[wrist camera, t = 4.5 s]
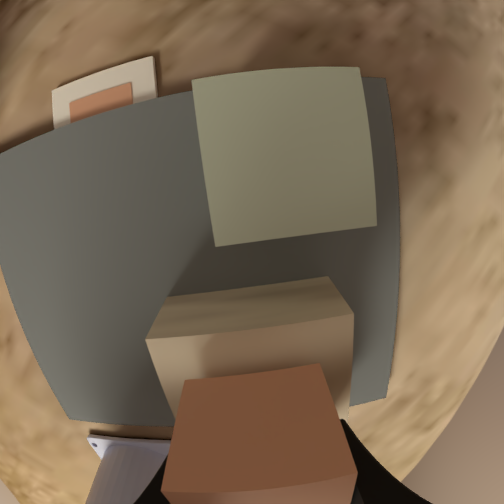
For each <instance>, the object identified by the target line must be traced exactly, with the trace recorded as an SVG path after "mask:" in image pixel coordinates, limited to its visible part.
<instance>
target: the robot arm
mask: <svg viewBox="0 0 504 504" xmlns="http://www.w3.org/2000/svg"><path fill="white" fill-rule="evenodd" d="M340 422H341V424H342V427H343V430H344V433H345V436H346V439H347V442H348V445H349V448H350V451H351V454H352V457H353V460H354V463H355V466H356V469H357V472H358V474H357V479H356V483H355V487H354V491H353V496H352V500H351V503H350V504H432V503H430V502H429V501H427V500H425V499H423V498H422V497H420V496H419V495H417V494H416V493H414V492H413V491H411V490H410V489H409V488H407V487H406V486H405V485H403V484H402V483H401V482H400V481H398V480H397V479H396V478H395V477H394V476H393V475H391V474H390V473H389V472H388V471H387V470H386V469H385V468H384V467H383V466H382V465H381V464H380V463H379V462H378V461H377V460H376V459H375V458H374V457H373V456H372V454H371V453H370V452H369V451H368V450H367V449H366V448H365V447H364V445H363V444H362V443H361V442H360V440H359V439H358V438H357V437H356V435H355V434H354V432H353V431H352V430H351V428H350V427H349V425H348V424H347V422H346V421H345V420H344V419H340ZM87 440H88V442H89V443H90V444H91V446H92V447H93V449H94V450H95V452H96V453H97V454H98V456H99V457H100V458H101V463H100V465H99V468H98V471H97V473H96V476H95V479H94V481H93V484H92V487H91V489H90V492H89V495H88V498H87V500H86V503H85V504H171V503H170V502H169V501H168V500H167V498H166V497H165V496H164V495H163V493H162V492H161V487H162V482H163V477H164V472H165V467H166V462H167V458H168V453H169V448H170V443H171V440H148V439H131V438H119V437H108V436H100V435H92V434H90V435H88V437H87Z"/></svg>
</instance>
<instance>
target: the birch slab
mask: <svg viewBox="0 0 504 504" xmlns="http://www.w3.org/2000/svg"><path fill="white" fill-rule="evenodd" d="M353 336H354V313H353V311H352V310H351V308H350V307H349V305H348V304H347V302H346V301H345V300H344V298H343V297H342V295H341V294H340V292H339V291H338V290H337V288H336V287H335V285H334V284H333V282H332V281H331V280H330V278H329V277H328V276H324V277H318V278H311V279H304V280H297V281H290V282H283V283H276V284H269V285H261V286H254V287H246V288H238V289H230V290H222V291H214V292H206V293H197V294H189V295H180V296H171V297H167V298H166V300H165V302H164V303H163V305H162V307H161V309H160V311H159V313H158V315H157V317H156V319H155V321H154V323H153V325H152V327H151V329H150V331H149V333H148V334H147V336H146V338H145V341H146V344H147V346H148V349H149V352H150V355H151V358H152V361H153V364H154V366H155V369H156V372H157V375H158V377H159V380H160V383H161V385H162V388H163V390H164V393H165V395H166V398H167V400H168V403H169V405H170V408H171V410H172V413H173V415H174V417H175V420H176V416H177V411H178V407H179V403H180V398H181V394H182V389H183V385H184V381H185V380H188V379H202V378H214V377H224V376H234V375H243V374H251V373H259V372H267V371H274V370H281V369H287V368H293V367H299V366H305V365H311V364H316V363H320V365H321V368H322V371H323V374H324V376H325V379H326V382H327V385H328V388H329V390H330V393H331V396H332V399H333V402H334V404H335V407H336V410H337V413H338V416H339V419H344V420H345V421H346V422H347V424H348V414H349V403H350V391H351V377H352V360H353Z"/></svg>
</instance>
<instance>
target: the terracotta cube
mask: <svg viewBox="0 0 504 504" xmlns="http://www.w3.org/2000/svg"><path fill="white" fill-rule="evenodd" d="M357 474H358V472H357V469H356V466H355V463H354V460H353V457H352V454H351V451H350V448H349V445H348V442H347V439H346V436H345V433H344V430H343V427H342V424H341V422H340V419H339V416H338V413H337V410H336V407H335V404H334V402H333V399H332V396H331V393H330V390H329V388H328V385H327V382H326V379H325V376H324V374H323V371H322V368H321V365H320V363H316V364H311V365H305V366H299V367H293V368H287V369H281V370H274V371H267V372H259V373H251V374H243V375H234V376H224V377H214V378H202V379H188V380H185V381H184V385H183V389H182V394H181V398H180V403H179V407H178V411H177V416H176V420H175V425H174V429H173V434H172V439H171V443H170V448H169V453H168V458H167V462H166V467H165V472H164V477H163V482H162V487H161V492H162V493H163V495H164V496H165V497H166V498H167V500H168V501H169V502H170V503H171V504H350V503H351V500H352V496H353V491H354V487H355V483H356V479H357Z"/></svg>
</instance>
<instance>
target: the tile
mask: <svg viewBox="0 0 504 504" xmlns="http://www.w3.org/2000/svg"><path fill="white" fill-rule="evenodd" d="M154 98H158V90H157V80H156V70H155V58H154V57H153V56H150V57H146V58H142V59H139V60H135V61H132V62H128V63H125V64H122V65H118V66H115V67H112V68H109V69H106V70H103V71H100V72H97V73H94V74H92V75H89V76H86V77H84V78H81V79H78V80H76V81H73V82H71V83H68V84H66V85H64V86H61V87H59V88H57V89H54V90H52V107H53V122H54V130H55V129H57V128H60V127H63V126H65V125H68V124H71V123H73V122H76V121H79V120H82V119H85V118H88V117H91V116H94V115H97V114H100V113H103V112H107V111H110V110H113V109H117V108H120V107H124V106H127V105H131V104H135V103H138V102H142V101H146V100H150V99H154Z"/></svg>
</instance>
